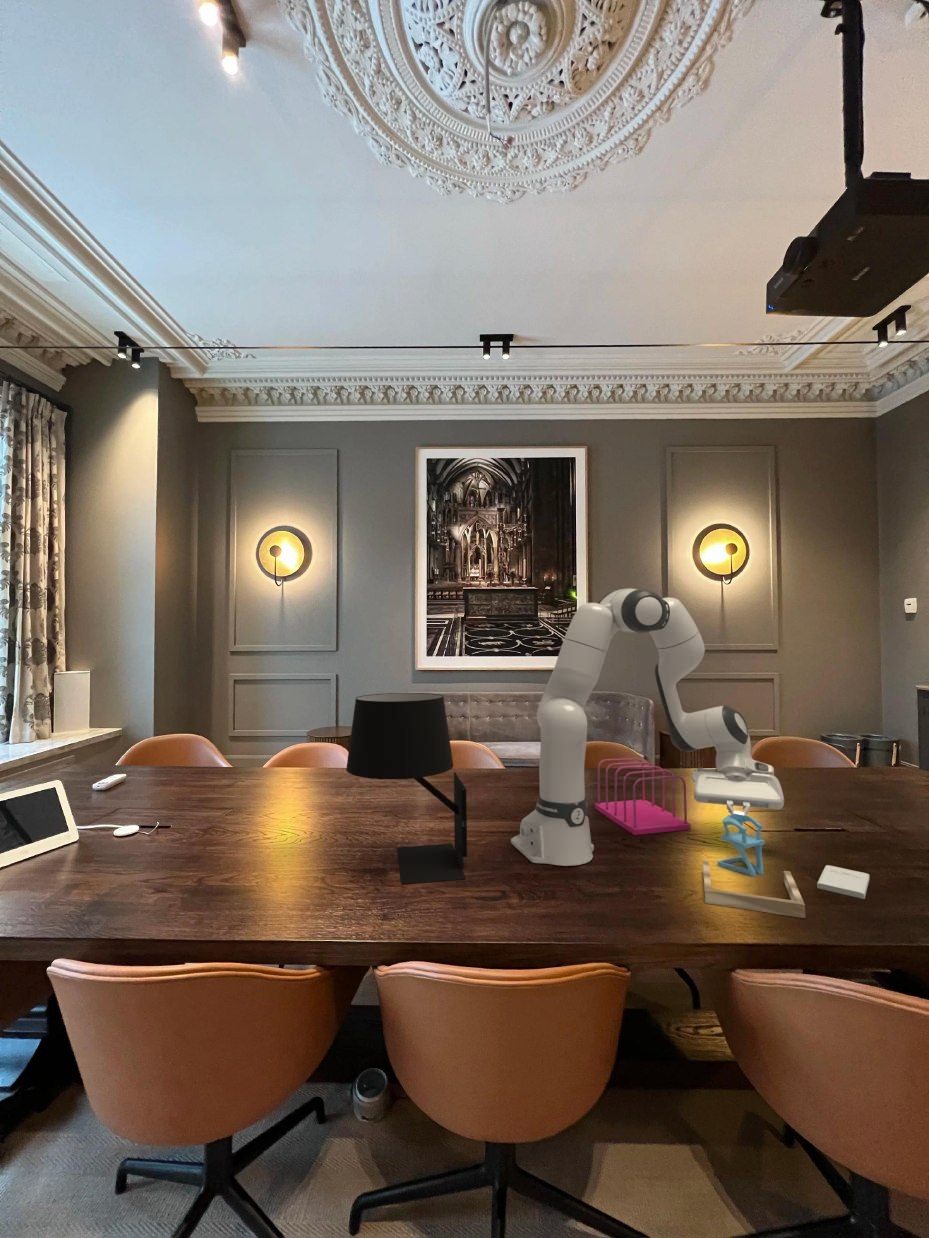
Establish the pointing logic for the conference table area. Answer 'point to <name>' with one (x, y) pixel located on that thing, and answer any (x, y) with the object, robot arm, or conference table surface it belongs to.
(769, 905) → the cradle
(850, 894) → the external hard drive
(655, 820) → the file sorter
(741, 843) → the chair
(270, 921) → the conference table surface
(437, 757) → the table lamp
